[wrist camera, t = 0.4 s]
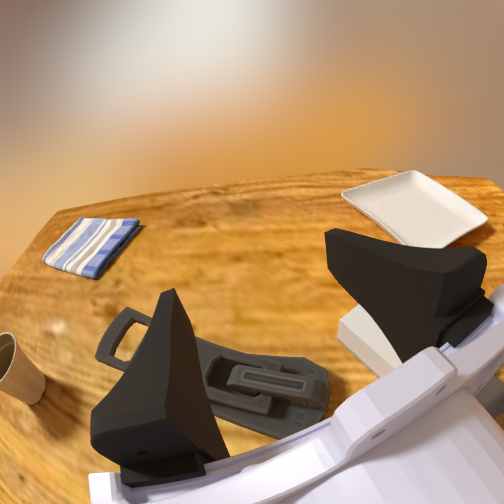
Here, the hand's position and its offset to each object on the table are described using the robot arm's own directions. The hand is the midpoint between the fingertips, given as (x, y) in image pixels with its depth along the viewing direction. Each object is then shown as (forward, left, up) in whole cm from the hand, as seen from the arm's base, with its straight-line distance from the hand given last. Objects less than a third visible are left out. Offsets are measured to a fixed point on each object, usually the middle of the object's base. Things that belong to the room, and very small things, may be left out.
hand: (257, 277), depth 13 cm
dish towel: (+51, +15, -21) cm, 57 cm away
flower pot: (+20, +31, -20) cm, 43 cm away
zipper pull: (+7, +5, -20) cm, 22 cm away
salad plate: (+10, -38, -21) cm, 44 cm away
